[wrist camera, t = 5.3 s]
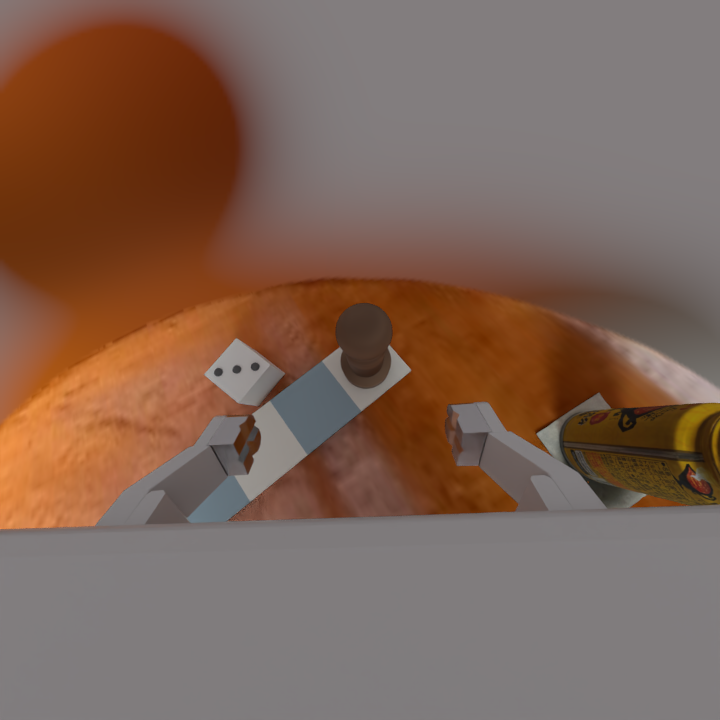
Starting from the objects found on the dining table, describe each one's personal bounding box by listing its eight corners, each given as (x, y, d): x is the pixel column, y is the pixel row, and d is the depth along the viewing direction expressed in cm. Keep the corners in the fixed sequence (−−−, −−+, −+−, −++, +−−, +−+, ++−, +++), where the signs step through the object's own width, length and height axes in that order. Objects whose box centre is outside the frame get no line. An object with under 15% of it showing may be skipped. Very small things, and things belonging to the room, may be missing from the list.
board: (409, 372, 25) (411, 370, 24) (196, 545, 22) (188, 551, 21) (370, 327, 26) (370, 323, 25) (164, 485, 23) (155, 488, 22)
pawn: (399, 368, 24) (421, 326, 14) (362, 398, 23) (356, 377, 13) (369, 334, 25) (369, 269, 14) (333, 362, 24) (306, 315, 14)
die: (285, 373, 25) (270, 364, 21) (258, 406, 25) (237, 403, 21) (256, 350, 26) (235, 337, 22) (229, 382, 25) (202, 374, 21)
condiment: (596, 392, 24) (814, 362, 12) (667, 478, 22) (1007, 538, 10) (534, 433, 23) (700, 442, 12) (601, 525, 21) (884, 648, 10)
